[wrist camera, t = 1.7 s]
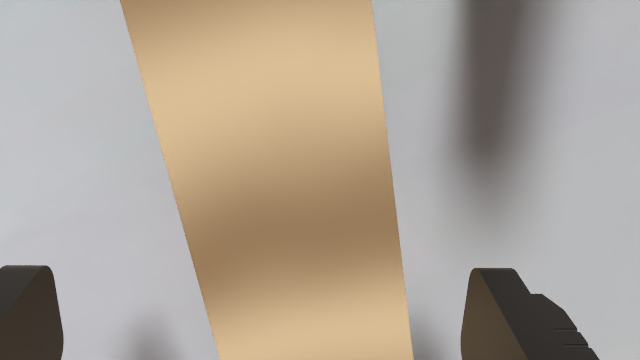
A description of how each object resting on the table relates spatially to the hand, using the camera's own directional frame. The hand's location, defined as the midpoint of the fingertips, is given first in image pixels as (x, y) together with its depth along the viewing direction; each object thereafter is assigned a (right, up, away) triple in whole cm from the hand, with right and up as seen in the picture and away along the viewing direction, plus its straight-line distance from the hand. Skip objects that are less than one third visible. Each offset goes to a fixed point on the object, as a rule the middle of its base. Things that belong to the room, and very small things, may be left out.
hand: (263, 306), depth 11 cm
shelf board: (0, +3, +6) cm, 7 cm away
